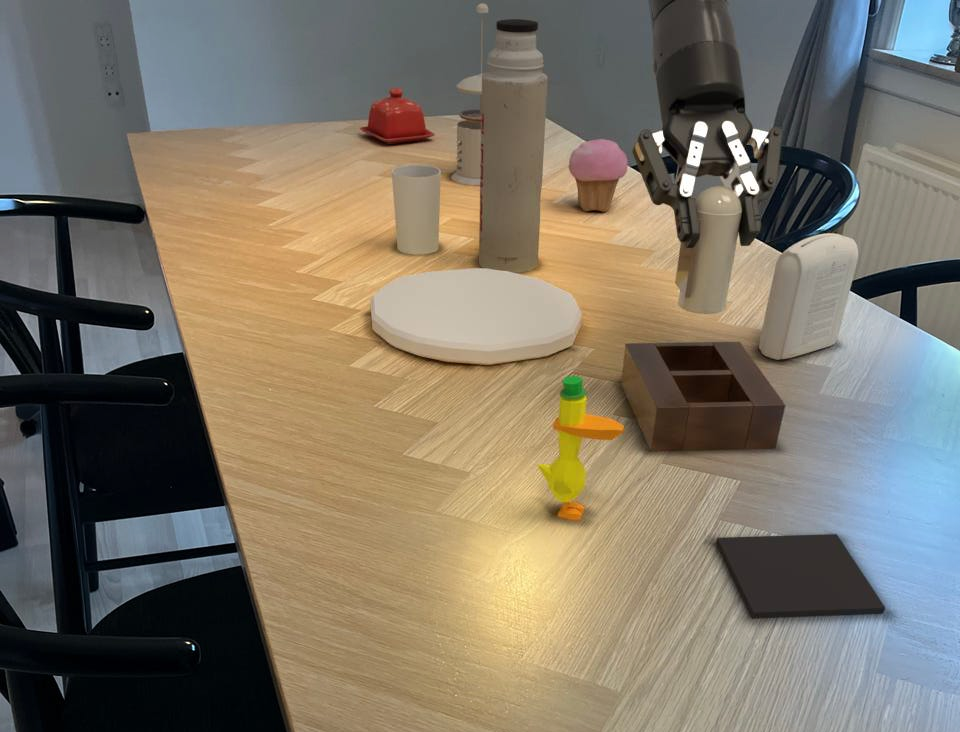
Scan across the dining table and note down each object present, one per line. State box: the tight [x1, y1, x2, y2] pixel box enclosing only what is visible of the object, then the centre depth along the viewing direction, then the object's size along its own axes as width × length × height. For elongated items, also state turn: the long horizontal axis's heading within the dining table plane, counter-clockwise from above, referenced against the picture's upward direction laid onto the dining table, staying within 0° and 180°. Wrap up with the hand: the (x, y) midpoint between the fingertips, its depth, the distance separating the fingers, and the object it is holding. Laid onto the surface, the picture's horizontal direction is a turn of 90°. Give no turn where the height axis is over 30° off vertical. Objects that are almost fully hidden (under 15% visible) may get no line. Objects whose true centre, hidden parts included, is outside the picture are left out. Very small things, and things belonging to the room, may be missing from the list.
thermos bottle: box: [478, 18, 549, 274], centre depth 123 cm, size 8×8×28 cm
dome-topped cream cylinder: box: [674, 185, 742, 315], centre depth 91 cm, size 5×4×11 cm
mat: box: [715, 533, 886, 619], centre depth 76 cm, size 10×10×1 cm
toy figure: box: [536, 375, 625, 521], centre depth 79 cm, size 7×4×12 cm, turn 76°
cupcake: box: [568, 138, 628, 213], centre depth 149 cm, size 9×9×10 cm
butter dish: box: [359, 87, 436, 145], centre depth 185 cm, size 12×12×8 cm
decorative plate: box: [370, 267, 583, 366], centre depth 114 cm, size 25×4×25 cm
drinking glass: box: [391, 164, 442, 255], centre depth 133 cm, size 7×7×10 cm
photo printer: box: [758, 232, 859, 361], centre depth 107 cm, size 10×4×12 cm, turn 125°
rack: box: [620, 341, 786, 453], centre depth 96 cm, size 12×15×4 cm
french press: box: [450, 3, 489, 186], centre depth 159 cm, size 10×12×25 cm
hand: (721, 242), depth 88 cm, fingers closed on dome-topped cream cylinder, 4 cm apart
